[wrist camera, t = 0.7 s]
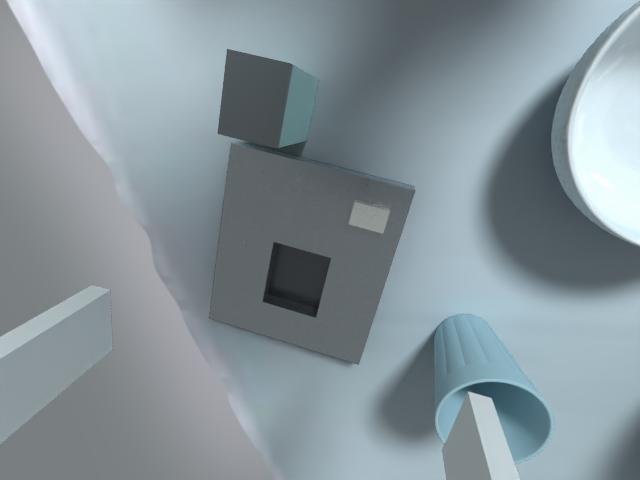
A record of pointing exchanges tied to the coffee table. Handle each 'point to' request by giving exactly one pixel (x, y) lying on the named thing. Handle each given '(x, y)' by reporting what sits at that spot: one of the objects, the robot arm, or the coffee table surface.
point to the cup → (487, 385)
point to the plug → (266, 100)
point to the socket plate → (305, 249)
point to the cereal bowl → (603, 130)
